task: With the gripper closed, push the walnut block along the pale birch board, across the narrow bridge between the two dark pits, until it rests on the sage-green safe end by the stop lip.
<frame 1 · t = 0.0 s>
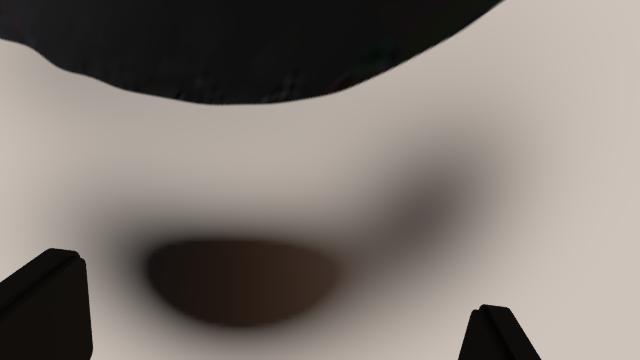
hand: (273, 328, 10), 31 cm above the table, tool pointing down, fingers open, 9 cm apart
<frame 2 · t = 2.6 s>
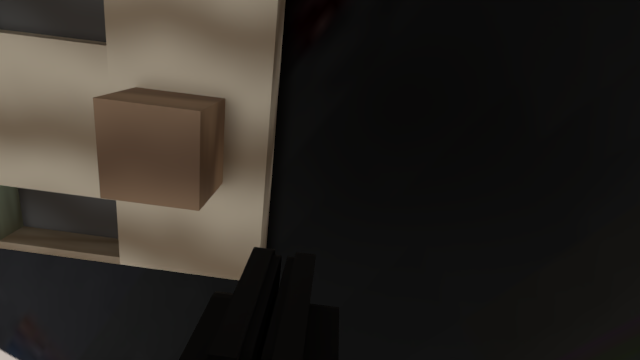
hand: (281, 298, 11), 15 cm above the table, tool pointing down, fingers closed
walnut block: (180, 136, 23), point 2 cm above the table, touching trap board
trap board: (71, 111, 26), on the table
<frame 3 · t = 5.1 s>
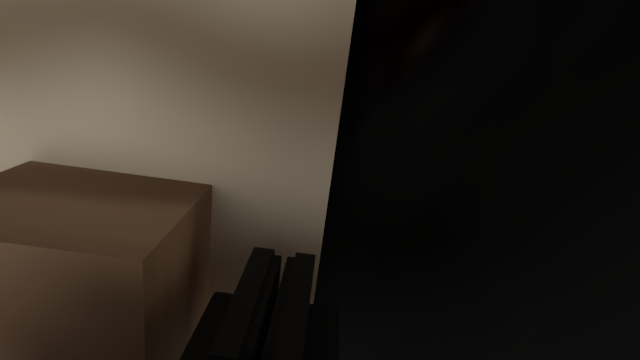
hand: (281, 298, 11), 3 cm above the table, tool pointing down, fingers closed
walnut block: (124, 253, 12), point 2 cm above the table, touching gripper, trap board
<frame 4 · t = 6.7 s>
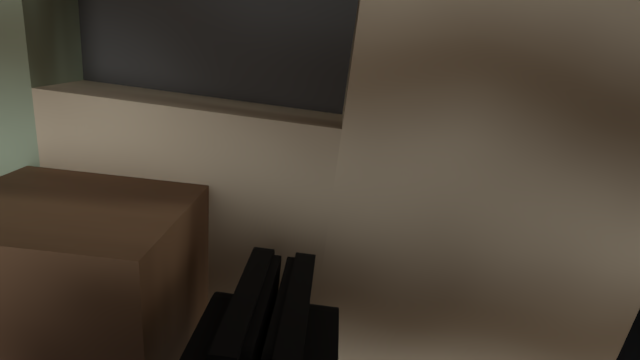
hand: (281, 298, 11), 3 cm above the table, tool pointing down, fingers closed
walnut block: (123, 256, 12), point 3 cm above the table, touching gripper
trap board: (210, 225, 14), on the table
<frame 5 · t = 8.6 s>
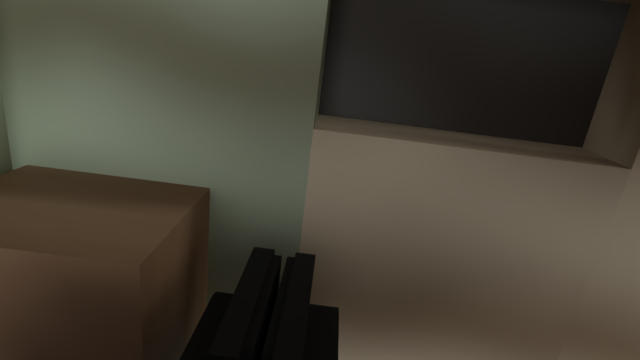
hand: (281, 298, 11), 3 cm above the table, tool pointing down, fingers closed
walnut block: (122, 257, 12), point 2 cm above the table, touching gripper, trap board
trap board: (418, 256, 14), on the table
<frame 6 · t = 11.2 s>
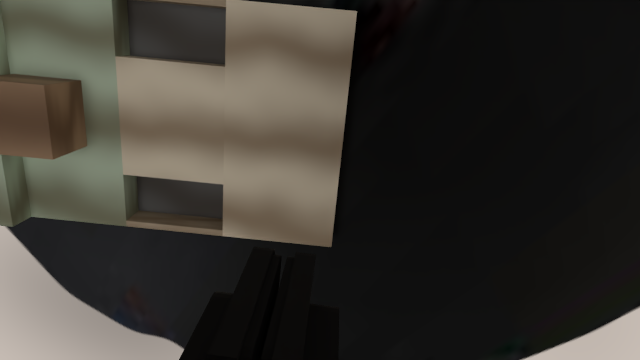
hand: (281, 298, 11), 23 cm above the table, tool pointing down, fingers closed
walnut block: (51, 110, 31), point 2 cm above the table, touching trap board
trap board: (183, 117, 33), on the table
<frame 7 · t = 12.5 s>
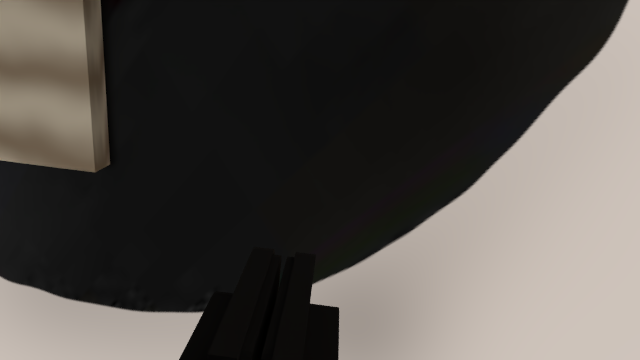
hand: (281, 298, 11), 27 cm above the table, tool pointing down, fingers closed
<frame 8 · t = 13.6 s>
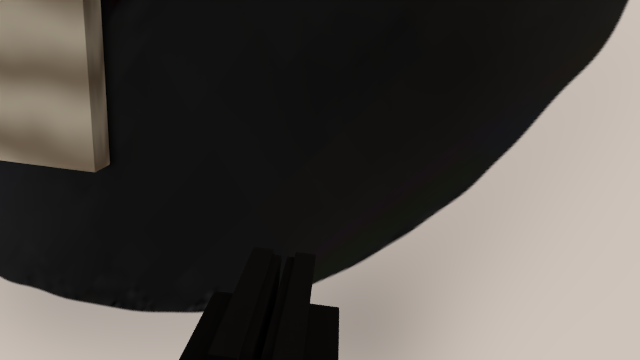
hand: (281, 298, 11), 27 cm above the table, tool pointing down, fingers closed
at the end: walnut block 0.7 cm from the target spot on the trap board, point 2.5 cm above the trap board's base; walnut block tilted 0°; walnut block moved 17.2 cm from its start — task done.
